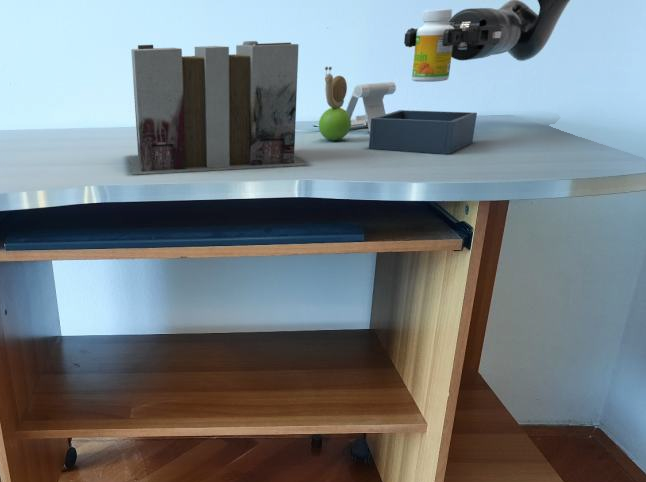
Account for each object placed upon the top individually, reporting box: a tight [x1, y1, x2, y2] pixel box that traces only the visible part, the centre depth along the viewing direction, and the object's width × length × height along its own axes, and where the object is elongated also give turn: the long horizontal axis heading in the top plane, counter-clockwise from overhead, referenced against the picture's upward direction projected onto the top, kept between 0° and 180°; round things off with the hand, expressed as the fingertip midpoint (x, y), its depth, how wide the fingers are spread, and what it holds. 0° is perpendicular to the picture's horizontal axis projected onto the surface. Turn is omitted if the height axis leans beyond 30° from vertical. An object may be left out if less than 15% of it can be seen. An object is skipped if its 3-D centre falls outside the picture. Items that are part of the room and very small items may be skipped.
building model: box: [129, 40, 307, 176], centre depth 94 cm, size 16×25×16 cm, turn 96°
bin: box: [368, 109, 478, 155], centre depth 102 cm, size 13×13×5 cm
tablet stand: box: [344, 81, 397, 133], centre depth 119 cm, size 9×8×8 cm
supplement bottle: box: [411, 8, 454, 83], centre depth 97 cm, size 5×5×10 cm
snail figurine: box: [318, 66, 352, 142], centre depth 108 cm, size 5×6×12 cm
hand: (426, 38), depth 95 cm, fingers closed on supplement bottle, 5 cm apart
